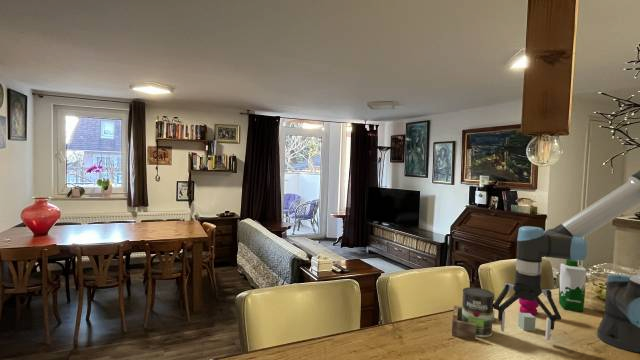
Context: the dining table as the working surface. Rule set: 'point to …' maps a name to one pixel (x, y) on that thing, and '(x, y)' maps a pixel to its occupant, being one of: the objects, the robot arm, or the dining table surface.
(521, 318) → the sage block
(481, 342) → the dining table surface
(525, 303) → the pepper mill
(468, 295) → the coffee can
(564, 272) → the milk carton
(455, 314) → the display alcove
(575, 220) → the robot arm
